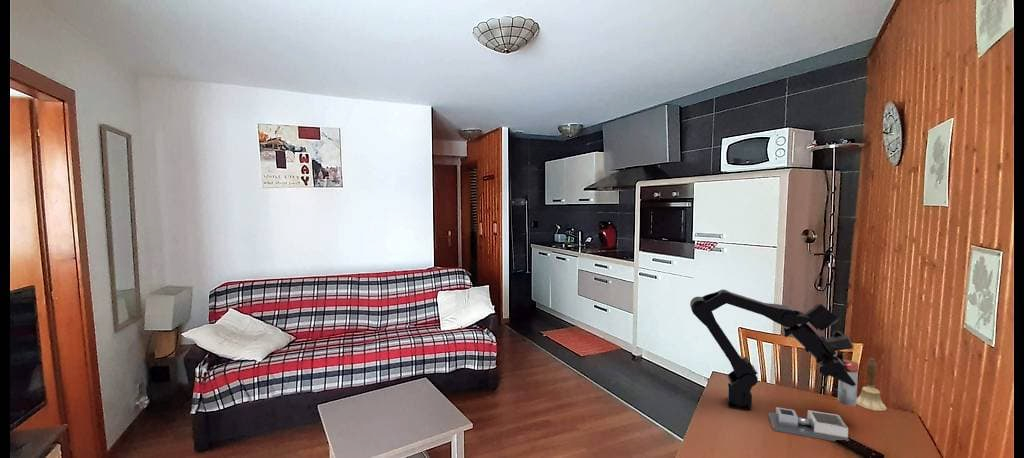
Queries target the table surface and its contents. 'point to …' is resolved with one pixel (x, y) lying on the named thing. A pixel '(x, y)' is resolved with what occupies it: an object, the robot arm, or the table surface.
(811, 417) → the desk organizer
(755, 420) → the table surface
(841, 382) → the grey jar
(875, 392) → the hand bell
